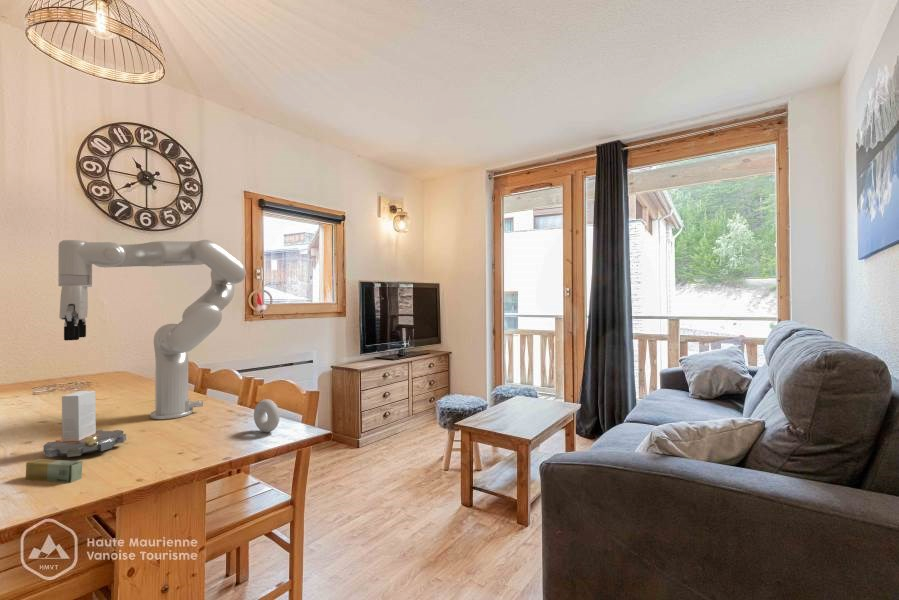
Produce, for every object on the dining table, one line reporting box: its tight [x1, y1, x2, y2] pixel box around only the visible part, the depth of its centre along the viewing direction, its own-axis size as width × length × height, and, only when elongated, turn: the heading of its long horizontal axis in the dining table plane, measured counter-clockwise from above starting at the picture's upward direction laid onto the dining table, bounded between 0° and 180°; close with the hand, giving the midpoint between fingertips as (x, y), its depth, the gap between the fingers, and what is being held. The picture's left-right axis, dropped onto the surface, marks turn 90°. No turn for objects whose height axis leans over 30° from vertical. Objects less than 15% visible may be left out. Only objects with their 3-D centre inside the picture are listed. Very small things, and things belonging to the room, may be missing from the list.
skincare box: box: [61, 390, 97, 441], centre depth 111 cm, size 6×4×12 cm
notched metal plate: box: [42, 429, 127, 458], centre depth 109 cm, size 16×16×4 cm
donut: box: [253, 398, 281, 433], centre depth 126 cm, size 10×4×10 cm, turn 60°
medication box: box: [25, 458, 83, 484], centre depth 93 cm, size 12×3×4 cm, turn 82°
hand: (75, 338), depth 124 cm, fingers open, 9 cm apart
